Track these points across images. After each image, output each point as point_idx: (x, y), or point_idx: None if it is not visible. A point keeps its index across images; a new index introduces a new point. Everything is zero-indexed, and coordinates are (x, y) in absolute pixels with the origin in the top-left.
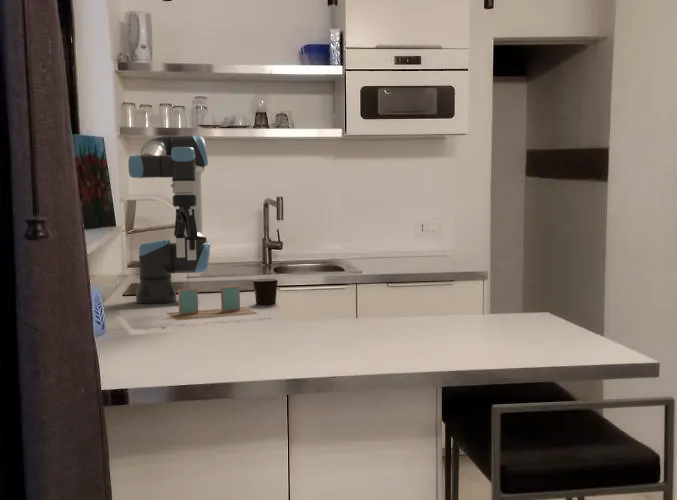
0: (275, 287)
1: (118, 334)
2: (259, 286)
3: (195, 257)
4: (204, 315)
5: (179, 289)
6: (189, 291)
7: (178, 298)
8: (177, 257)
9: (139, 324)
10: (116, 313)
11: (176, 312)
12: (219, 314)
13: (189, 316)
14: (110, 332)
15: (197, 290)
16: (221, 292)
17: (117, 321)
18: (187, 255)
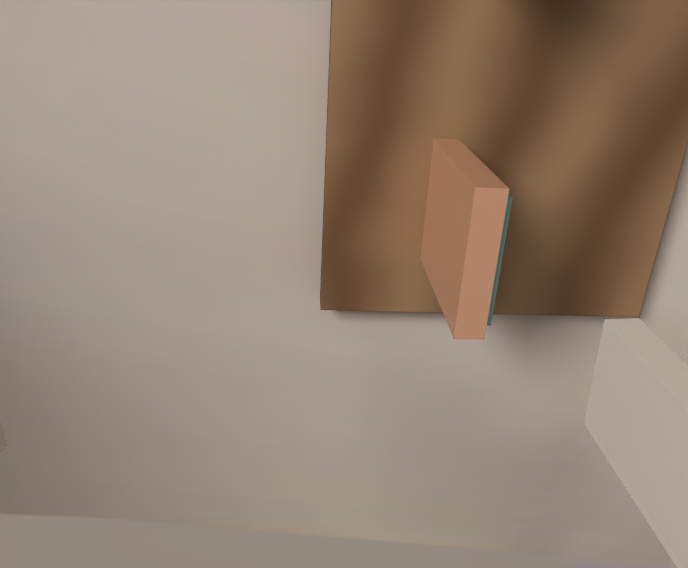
0: None
1: None
2: None
3: (656, 349)
4: (583, 130)
5: (454, 328)
6: (501, 253)
7: (441, 305)
8: (3, 444)
9: (466, 447)
10: (11, 490)
11: (336, 255)
12: (616, 20)
13: (554, 225)
14: (592, 560)
15: (504, 184)
16: None
17: (307, 513)
18: (620, 469)
